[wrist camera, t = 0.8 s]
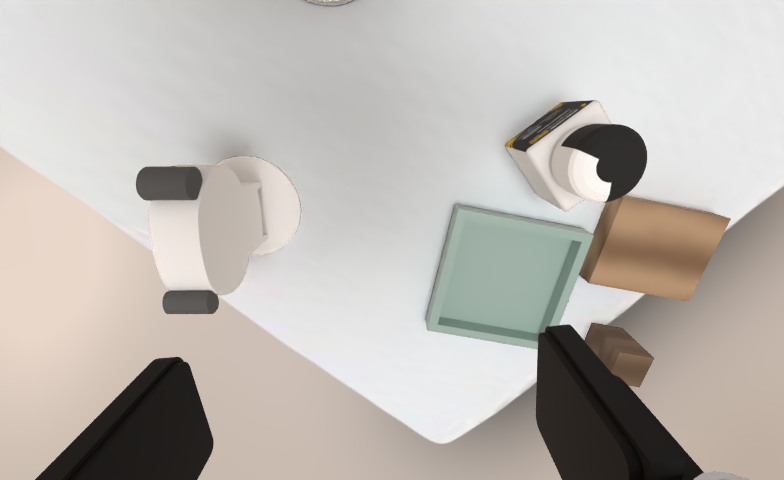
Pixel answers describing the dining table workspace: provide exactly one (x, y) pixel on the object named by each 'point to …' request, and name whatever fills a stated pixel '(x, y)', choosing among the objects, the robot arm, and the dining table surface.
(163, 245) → the panda figurine
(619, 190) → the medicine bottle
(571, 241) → the tray
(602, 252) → the tan wooden block
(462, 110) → the dining table surface
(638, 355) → the dark brown wooden block
